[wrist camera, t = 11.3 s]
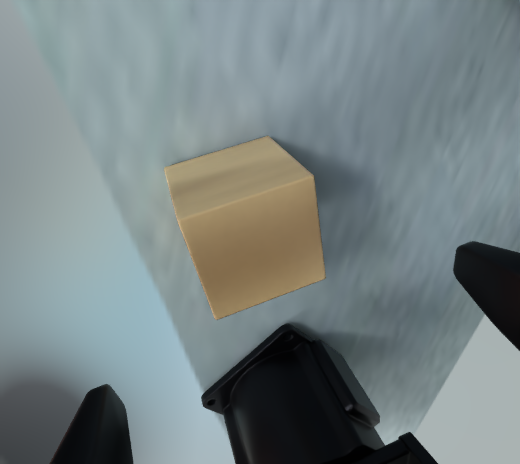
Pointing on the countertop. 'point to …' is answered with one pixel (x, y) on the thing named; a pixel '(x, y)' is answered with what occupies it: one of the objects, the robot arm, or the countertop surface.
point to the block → (248, 223)
